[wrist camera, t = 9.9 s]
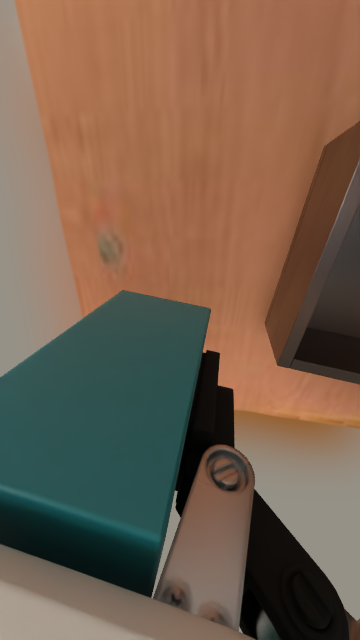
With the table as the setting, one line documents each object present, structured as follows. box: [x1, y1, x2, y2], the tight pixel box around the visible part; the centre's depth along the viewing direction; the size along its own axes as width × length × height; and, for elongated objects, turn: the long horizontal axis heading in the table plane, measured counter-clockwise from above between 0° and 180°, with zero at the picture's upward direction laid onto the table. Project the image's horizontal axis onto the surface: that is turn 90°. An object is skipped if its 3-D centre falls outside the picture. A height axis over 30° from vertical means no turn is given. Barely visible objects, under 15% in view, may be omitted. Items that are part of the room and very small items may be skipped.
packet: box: [0, 290, 211, 598], centre depth 8 cm, size 6×4×8 cm
